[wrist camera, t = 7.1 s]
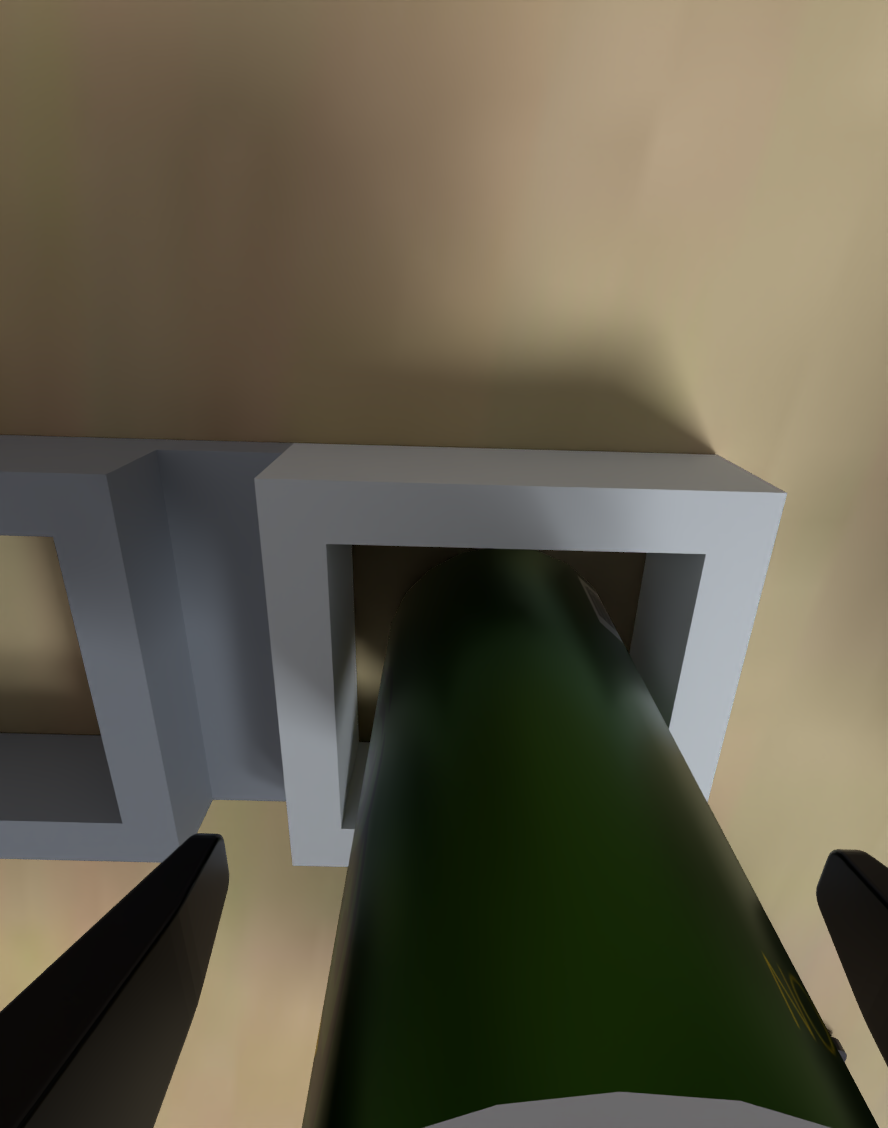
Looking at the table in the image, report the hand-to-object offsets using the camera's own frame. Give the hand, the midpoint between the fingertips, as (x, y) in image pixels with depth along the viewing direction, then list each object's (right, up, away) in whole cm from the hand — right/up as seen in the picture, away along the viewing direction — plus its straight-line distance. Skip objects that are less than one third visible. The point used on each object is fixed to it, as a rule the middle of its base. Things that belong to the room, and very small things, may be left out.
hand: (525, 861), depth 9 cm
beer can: (0, +3, +6) cm, 7 cm away
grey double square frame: (-6, +3, +6) cm, 9 cm away
